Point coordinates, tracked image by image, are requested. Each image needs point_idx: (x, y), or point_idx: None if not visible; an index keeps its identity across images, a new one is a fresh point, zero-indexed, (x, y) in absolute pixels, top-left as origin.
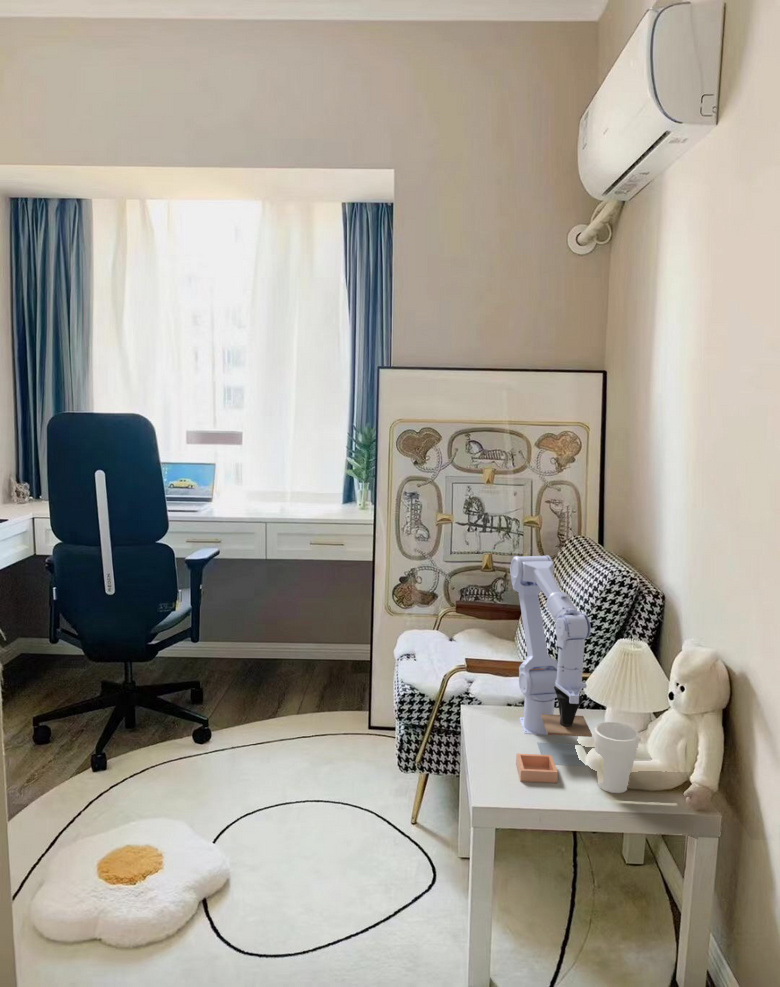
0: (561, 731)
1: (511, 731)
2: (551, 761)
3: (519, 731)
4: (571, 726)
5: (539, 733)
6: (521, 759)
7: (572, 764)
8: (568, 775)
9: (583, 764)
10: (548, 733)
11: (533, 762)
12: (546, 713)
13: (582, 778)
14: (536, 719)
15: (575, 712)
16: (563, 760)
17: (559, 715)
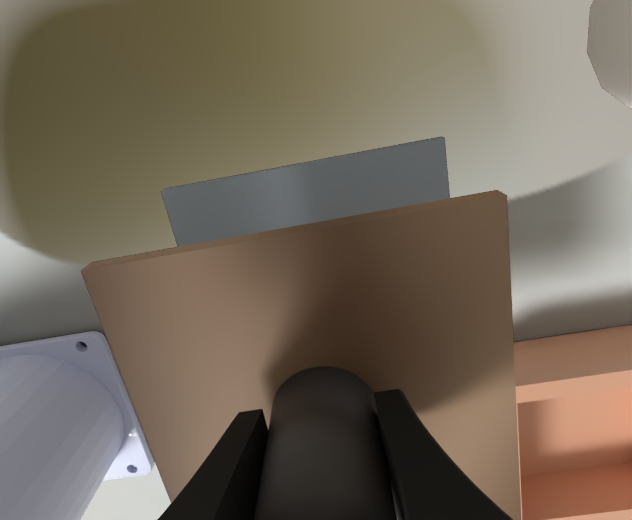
0: (487, 442)
1: (137, 510)
2: (578, 389)
3: (121, 482)
4: (366, 371)
5: (125, 412)
6: (568, 517)
7: None
8: (546, 266)
9: (432, 190)
10: (518, 514)
11: None
12: (39, 475)
13: (573, 195)
14: (89, 488)
15: (466, 479)
16: None
17: (165, 455)
